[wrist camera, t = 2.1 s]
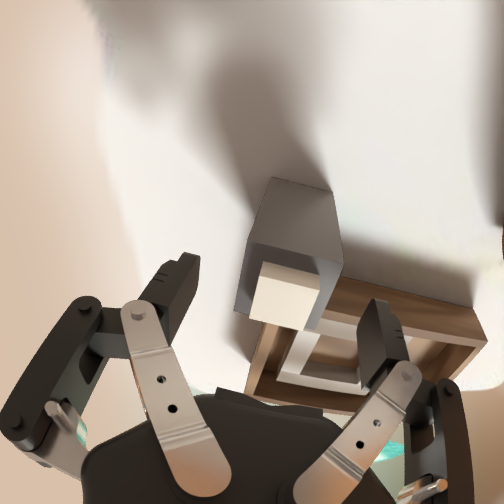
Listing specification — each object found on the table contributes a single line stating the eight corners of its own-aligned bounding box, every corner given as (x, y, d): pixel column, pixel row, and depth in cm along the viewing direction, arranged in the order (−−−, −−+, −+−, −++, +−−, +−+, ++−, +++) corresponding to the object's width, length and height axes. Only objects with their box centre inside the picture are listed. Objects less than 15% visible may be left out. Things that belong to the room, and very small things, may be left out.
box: (281, 261, 22) (275, 297, 18) (473, 308, 21) (487, 341, 18) (250, 364, 29) (242, 396, 26) (405, 390, 28) (409, 420, 25)
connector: (271, 176, 19) (242, 253, 11) (333, 192, 18) (346, 279, 11) (259, 230, 21) (228, 325, 13) (316, 245, 21) (314, 346, 13)
